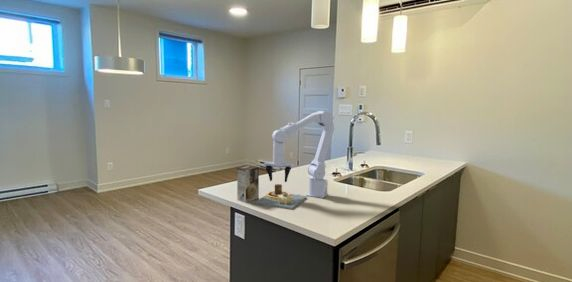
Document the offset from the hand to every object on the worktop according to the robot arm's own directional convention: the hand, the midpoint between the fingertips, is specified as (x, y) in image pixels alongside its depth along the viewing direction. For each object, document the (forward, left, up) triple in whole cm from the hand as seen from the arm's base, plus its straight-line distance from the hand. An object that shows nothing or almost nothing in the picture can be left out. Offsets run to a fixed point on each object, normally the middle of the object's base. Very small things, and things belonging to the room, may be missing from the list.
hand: (278, 181), depth 157 cm
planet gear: (0, 0, -8) cm, 8 cm away
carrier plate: (-3, +4, -9) cm, 10 cm away
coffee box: (+13, +9, -9) cm, 18 cm away
